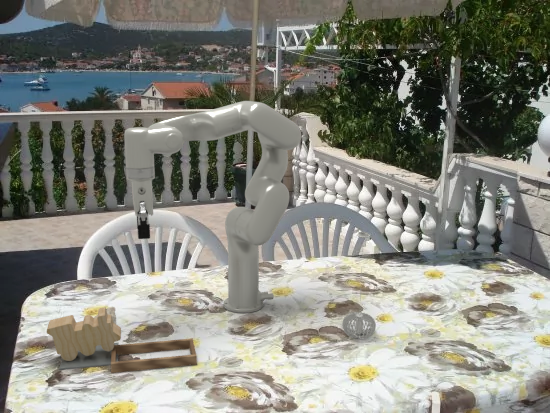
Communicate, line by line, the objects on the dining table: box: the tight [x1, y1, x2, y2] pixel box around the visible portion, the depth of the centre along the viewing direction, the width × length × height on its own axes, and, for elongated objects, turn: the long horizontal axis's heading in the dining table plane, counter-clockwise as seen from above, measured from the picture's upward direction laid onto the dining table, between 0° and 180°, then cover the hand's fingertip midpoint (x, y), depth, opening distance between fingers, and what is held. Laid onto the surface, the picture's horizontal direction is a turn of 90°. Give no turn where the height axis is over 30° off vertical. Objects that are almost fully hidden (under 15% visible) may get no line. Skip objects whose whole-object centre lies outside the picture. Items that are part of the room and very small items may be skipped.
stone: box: [93, 306, 117, 325], centre depth 175 cm, size 8×12×10 cm, turn 10°
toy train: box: [46, 306, 122, 361], centre depth 160 cm, size 6×17×10 cm, turn 103°
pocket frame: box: [110, 337, 198, 374], centre depth 160 cm, size 21×10×2 cm, turn 103°
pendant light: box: [342, 231, 377, 340], centre depth 172 cm, size 9×9×30 cm
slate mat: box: [59, 341, 120, 371], centre depth 161 cm, size 14×12×1 cm
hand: (143, 233), depth 173 cm, fingers open, 9 cm apart
